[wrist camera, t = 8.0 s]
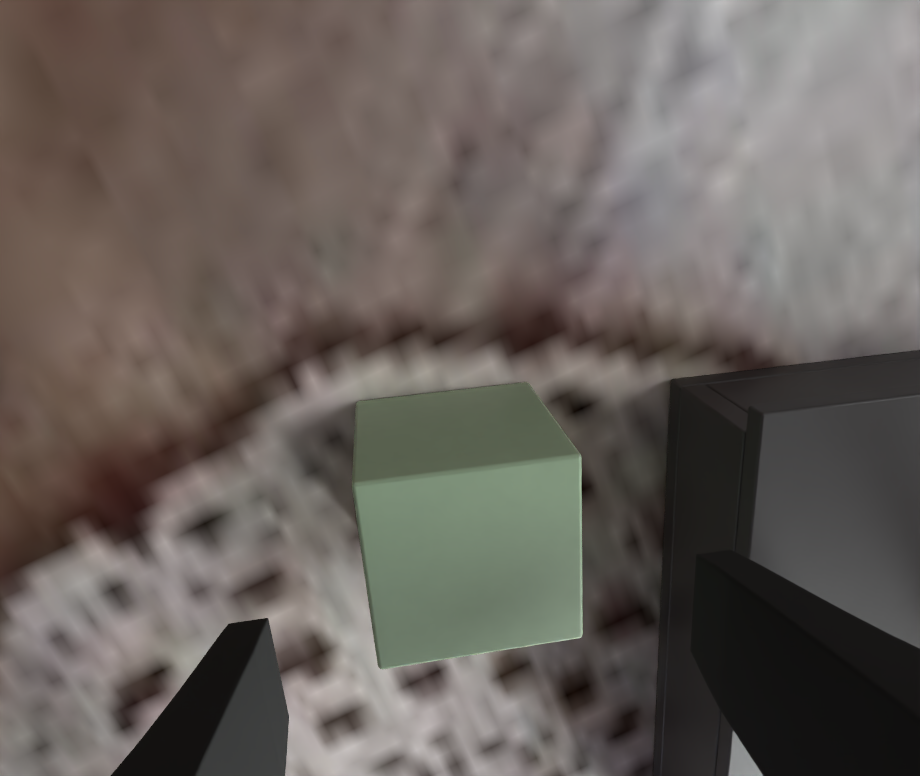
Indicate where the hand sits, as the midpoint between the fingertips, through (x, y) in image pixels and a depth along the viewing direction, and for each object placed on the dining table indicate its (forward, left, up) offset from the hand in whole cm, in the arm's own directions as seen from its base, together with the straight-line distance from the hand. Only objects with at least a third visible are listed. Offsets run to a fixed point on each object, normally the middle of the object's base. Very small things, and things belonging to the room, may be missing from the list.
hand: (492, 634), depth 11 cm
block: (0, 0, -6) cm, 6 cm away
